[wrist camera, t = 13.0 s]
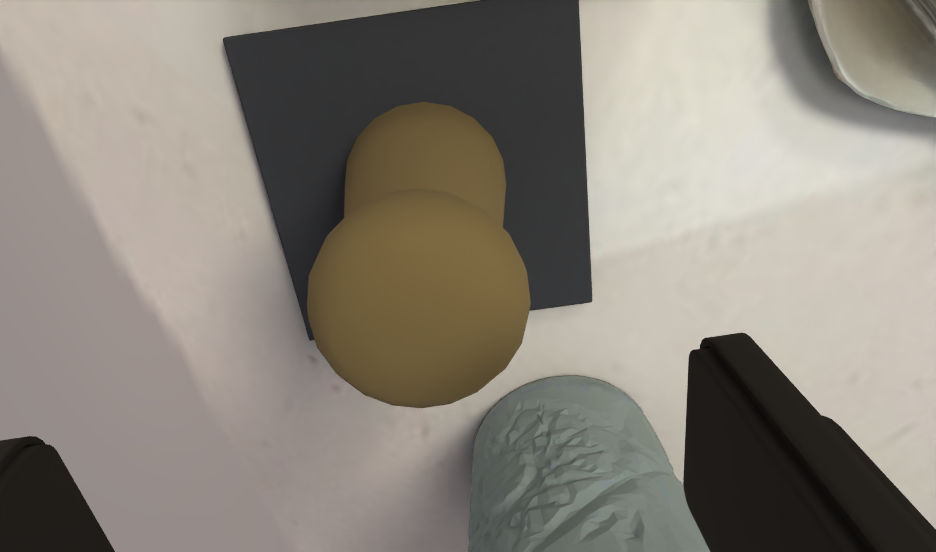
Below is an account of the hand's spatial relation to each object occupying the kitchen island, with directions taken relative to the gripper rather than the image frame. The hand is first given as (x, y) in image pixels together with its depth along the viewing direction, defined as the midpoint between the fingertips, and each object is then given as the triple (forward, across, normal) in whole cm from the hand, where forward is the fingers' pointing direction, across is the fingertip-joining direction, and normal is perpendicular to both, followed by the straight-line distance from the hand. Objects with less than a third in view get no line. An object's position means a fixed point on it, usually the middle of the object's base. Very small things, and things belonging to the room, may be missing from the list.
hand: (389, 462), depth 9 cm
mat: (+16, -1, +1) cm, 16 cm away
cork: (+15, 0, +1) cm, 15 cm away
